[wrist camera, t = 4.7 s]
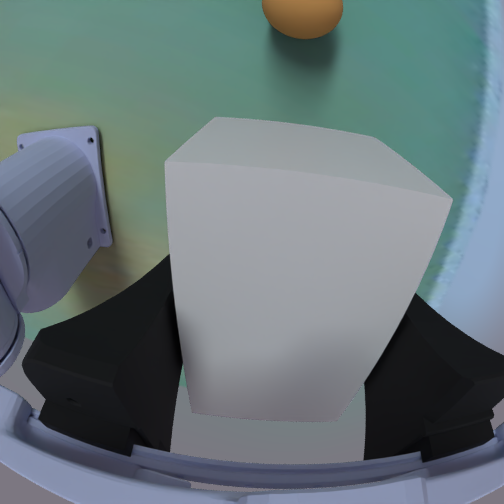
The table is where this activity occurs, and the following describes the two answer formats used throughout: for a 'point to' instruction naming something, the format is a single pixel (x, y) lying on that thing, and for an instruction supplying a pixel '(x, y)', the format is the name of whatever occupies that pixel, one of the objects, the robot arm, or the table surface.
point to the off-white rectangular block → (292, 263)
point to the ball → (303, 16)
